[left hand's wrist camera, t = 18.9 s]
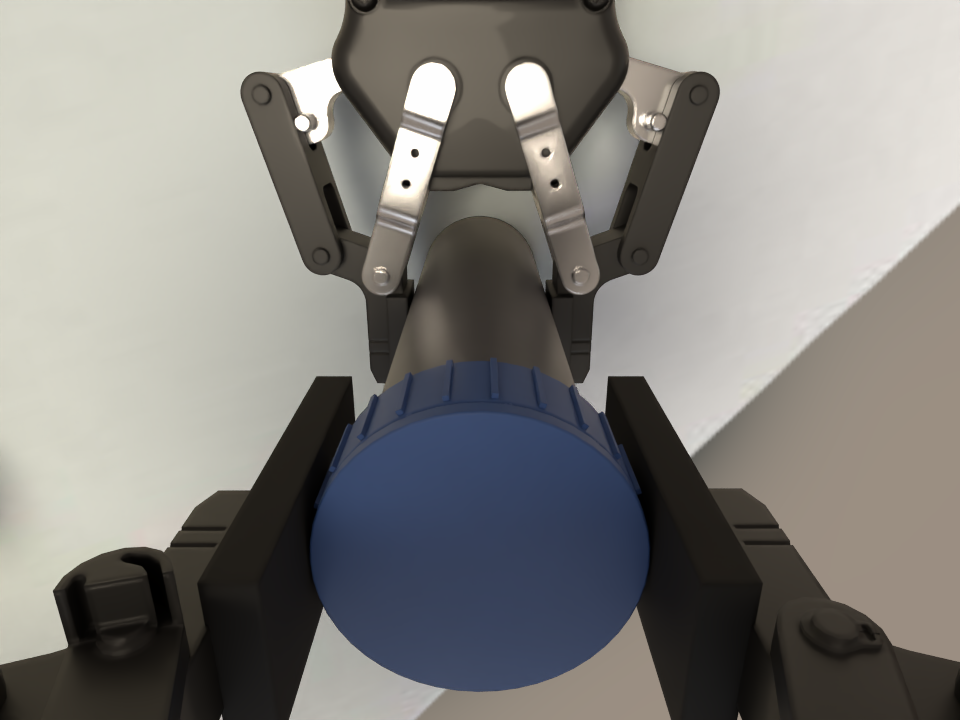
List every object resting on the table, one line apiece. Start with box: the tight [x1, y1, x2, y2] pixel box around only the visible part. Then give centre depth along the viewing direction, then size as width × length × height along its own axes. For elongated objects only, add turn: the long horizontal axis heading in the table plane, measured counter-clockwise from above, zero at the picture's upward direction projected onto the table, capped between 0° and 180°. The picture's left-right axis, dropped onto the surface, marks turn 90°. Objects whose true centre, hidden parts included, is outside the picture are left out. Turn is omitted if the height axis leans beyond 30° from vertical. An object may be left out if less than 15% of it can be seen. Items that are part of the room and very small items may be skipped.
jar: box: [382, 216, 575, 393], centre depth 20 cm, size 5×5×18 cm
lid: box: [310, 358, 650, 692], centre depth 12 cm, size 6×6×2 cm
